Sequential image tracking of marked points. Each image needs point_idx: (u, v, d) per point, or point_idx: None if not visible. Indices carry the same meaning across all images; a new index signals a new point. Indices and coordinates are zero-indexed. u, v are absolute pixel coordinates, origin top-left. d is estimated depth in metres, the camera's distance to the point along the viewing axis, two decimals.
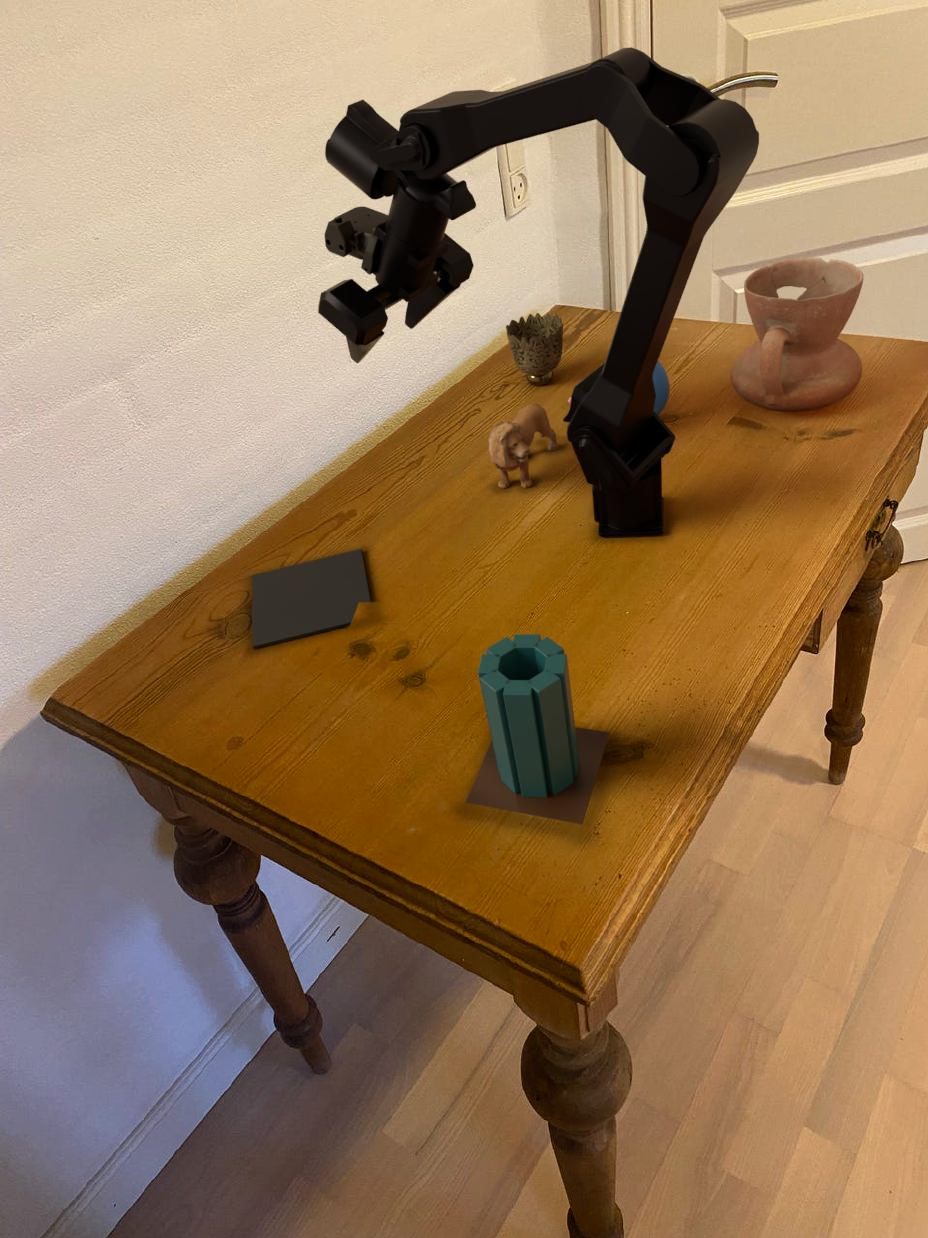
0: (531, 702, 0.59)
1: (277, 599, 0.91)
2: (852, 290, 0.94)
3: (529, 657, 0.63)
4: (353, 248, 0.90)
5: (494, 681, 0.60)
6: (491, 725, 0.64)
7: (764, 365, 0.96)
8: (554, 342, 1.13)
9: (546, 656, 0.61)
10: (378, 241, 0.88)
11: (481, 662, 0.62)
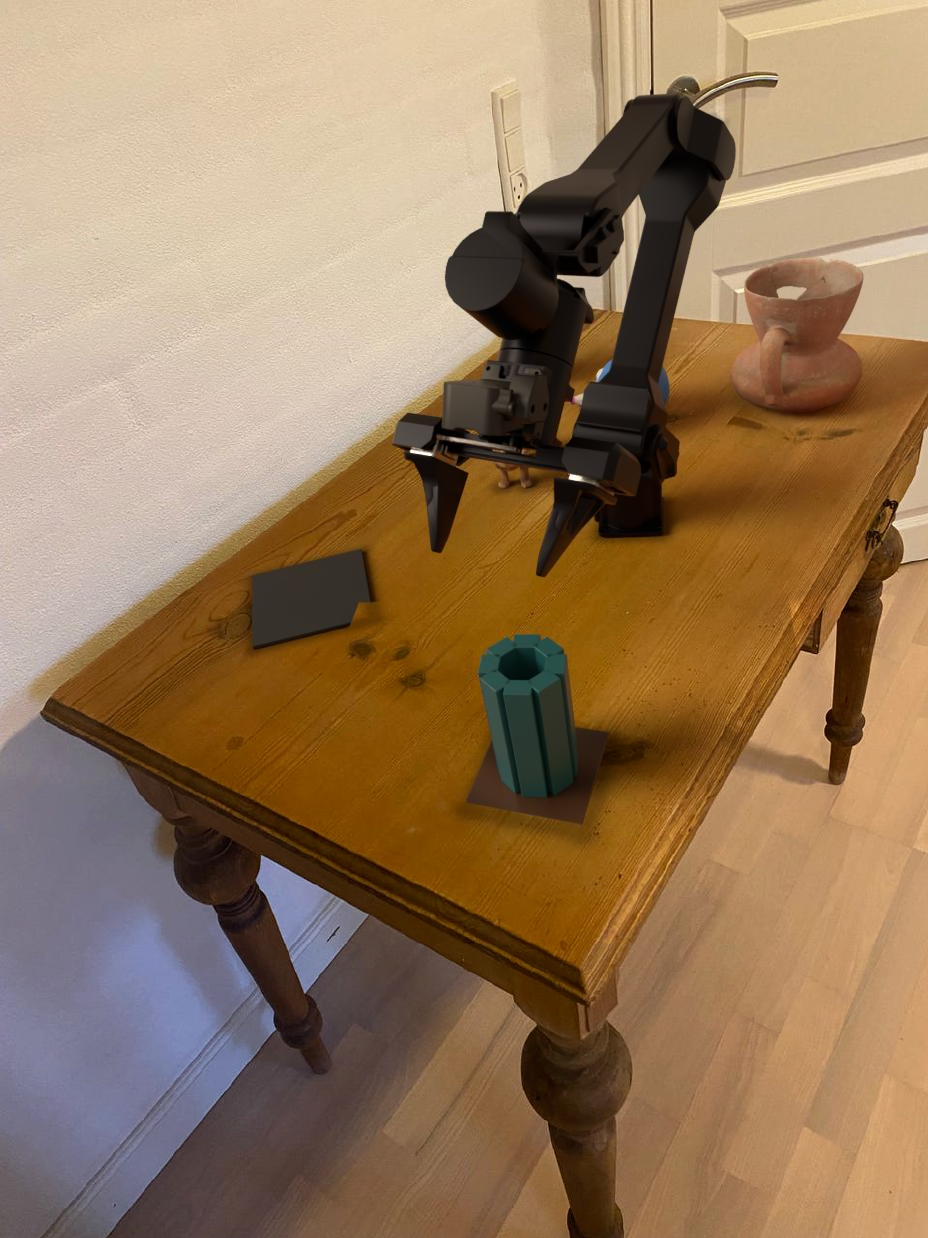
0: (531, 702, 0.59)
1: (277, 599, 0.91)
2: (852, 289, 0.94)
3: (529, 657, 0.63)
4: None
5: (494, 681, 0.60)
6: (491, 725, 0.64)
7: (764, 365, 0.96)
8: None
9: (546, 656, 0.61)
10: None
11: (481, 662, 0.62)
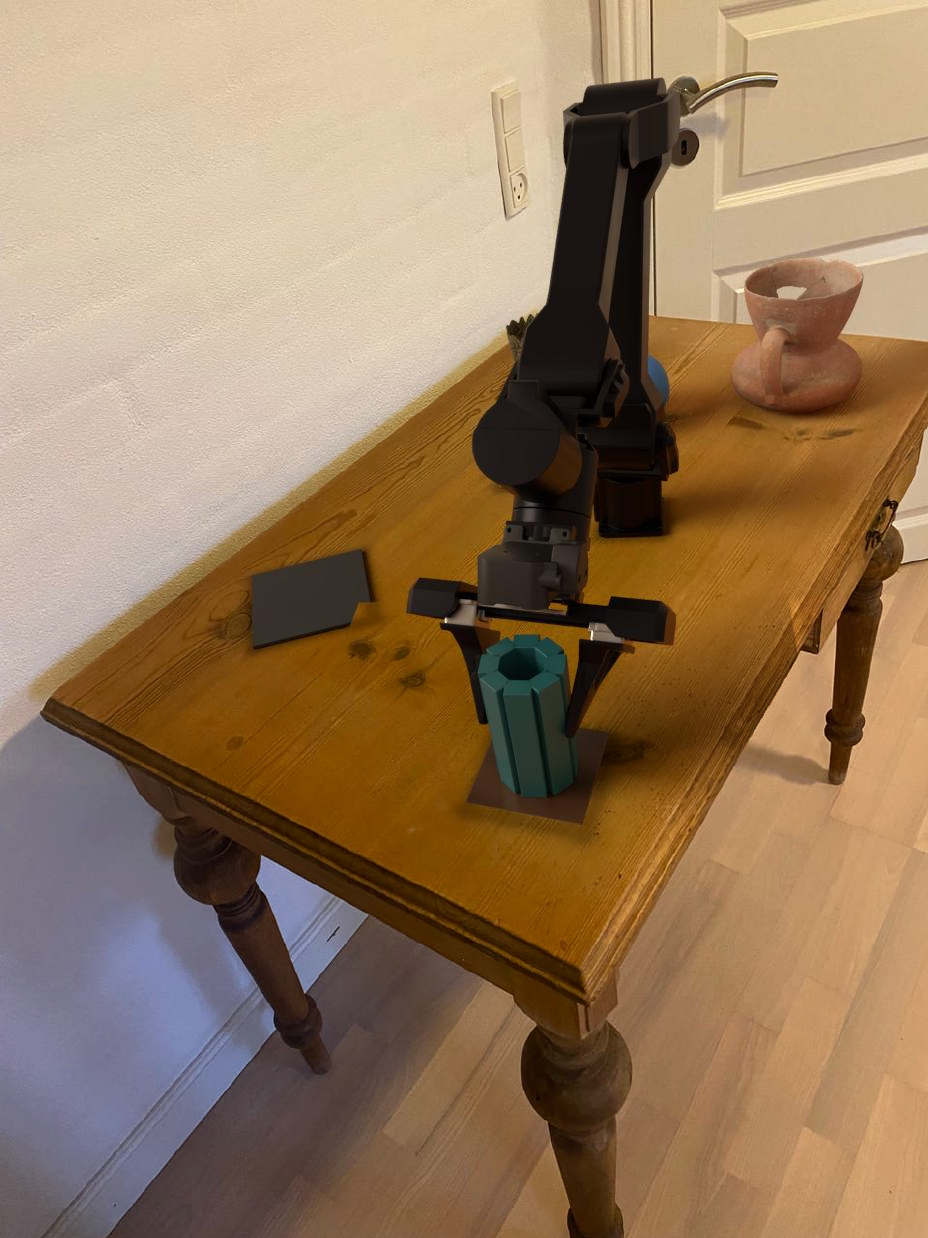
0: (531, 702, 0.59)
1: (277, 599, 0.91)
2: (852, 289, 0.94)
3: (529, 657, 0.63)
4: None
5: (494, 681, 0.60)
6: (491, 725, 0.64)
7: (764, 365, 0.96)
8: None
9: (546, 656, 0.61)
10: None
11: (481, 662, 0.62)
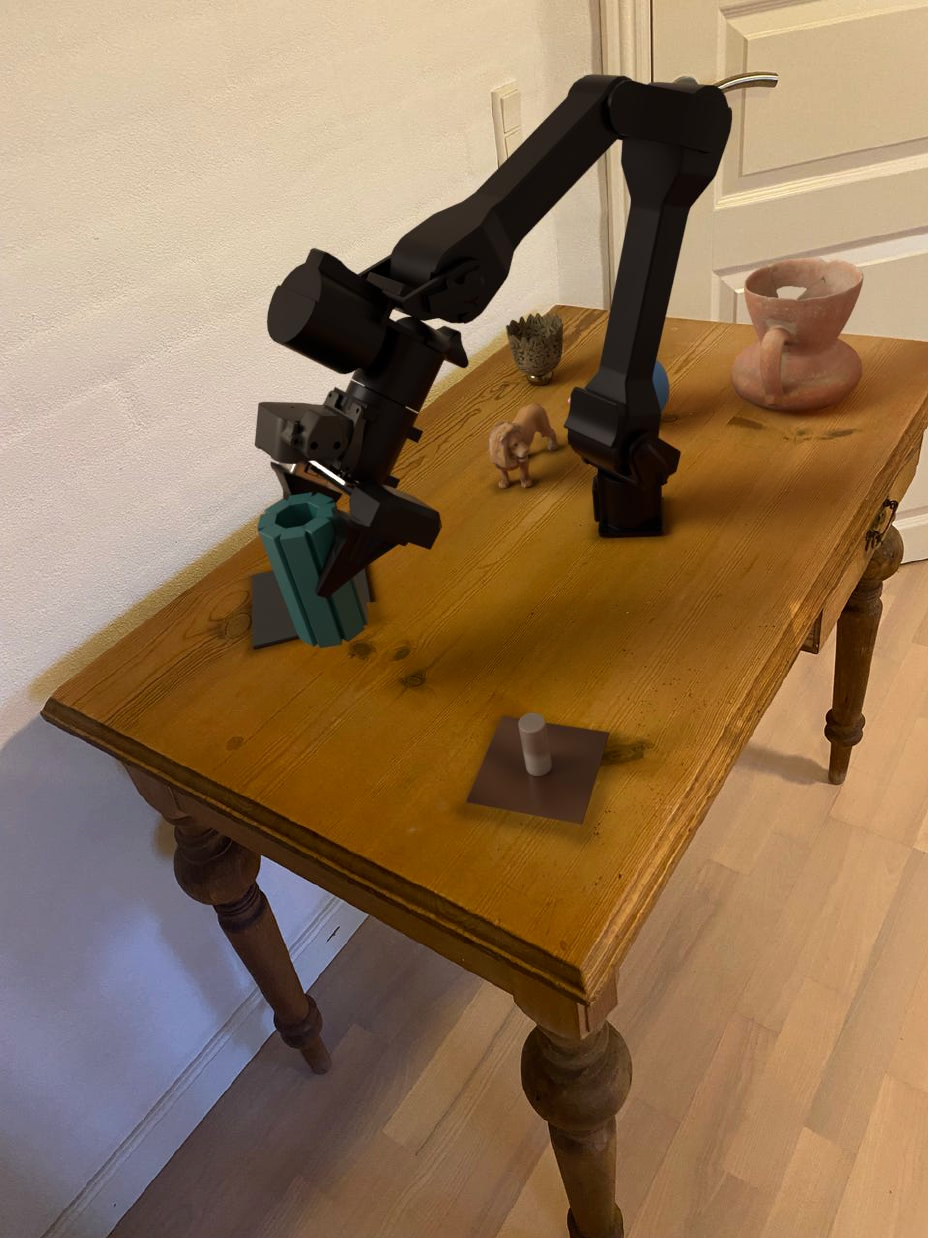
0: (276, 546, 0.66)
1: (277, 599, 0.91)
2: (852, 289, 0.94)
3: None
4: None
5: (265, 520, 0.68)
6: None
7: (764, 365, 0.96)
8: (554, 342, 1.13)
9: (316, 516, 0.67)
10: None
11: None
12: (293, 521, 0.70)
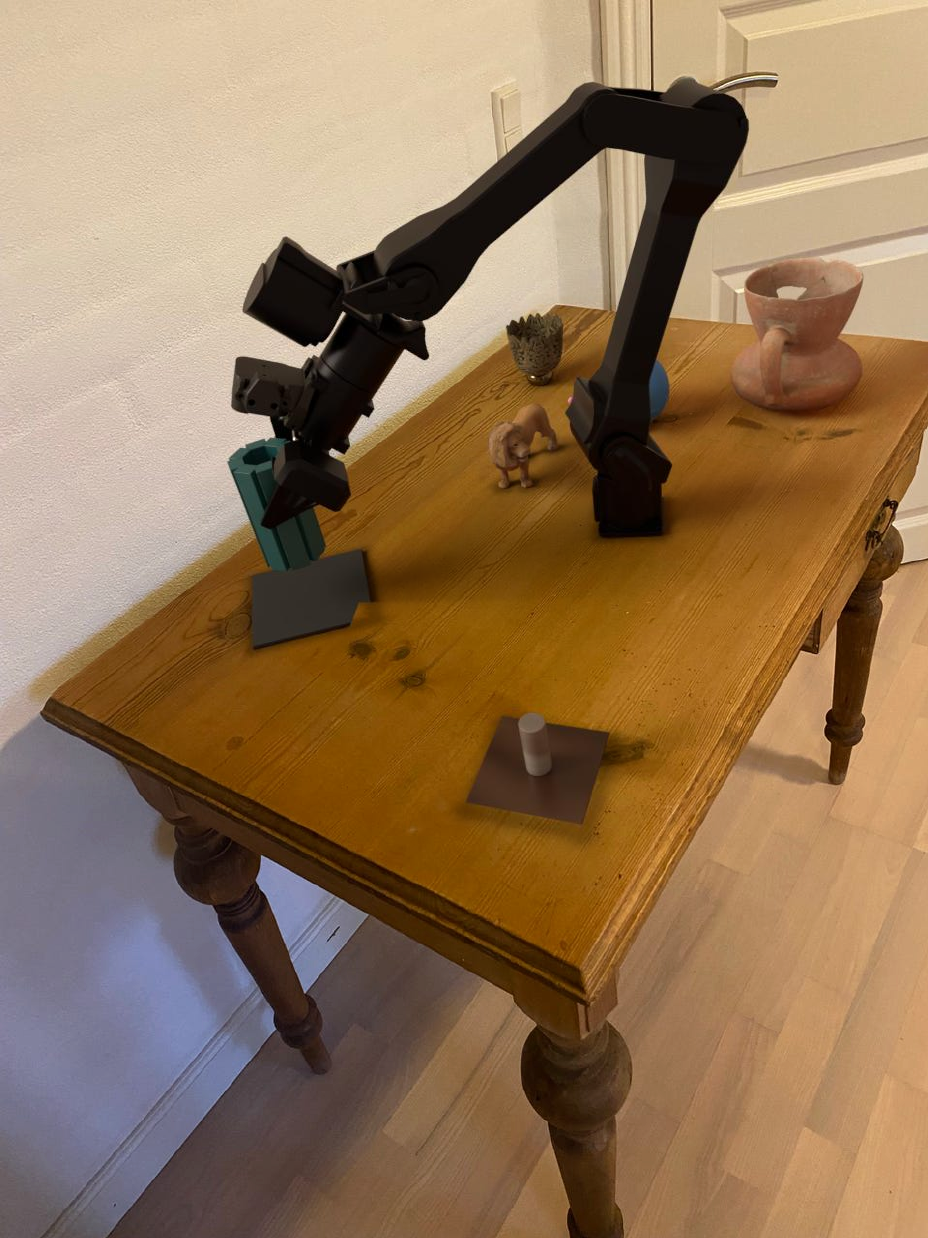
0: (233, 477, 0.80)
1: (277, 599, 0.91)
2: (852, 290, 0.94)
3: None
4: (283, 405, 0.74)
5: (238, 453, 0.81)
6: None
7: (764, 365, 0.96)
8: (554, 342, 1.13)
9: (271, 460, 0.79)
10: None
11: (255, 441, 0.83)
12: (266, 459, 0.83)
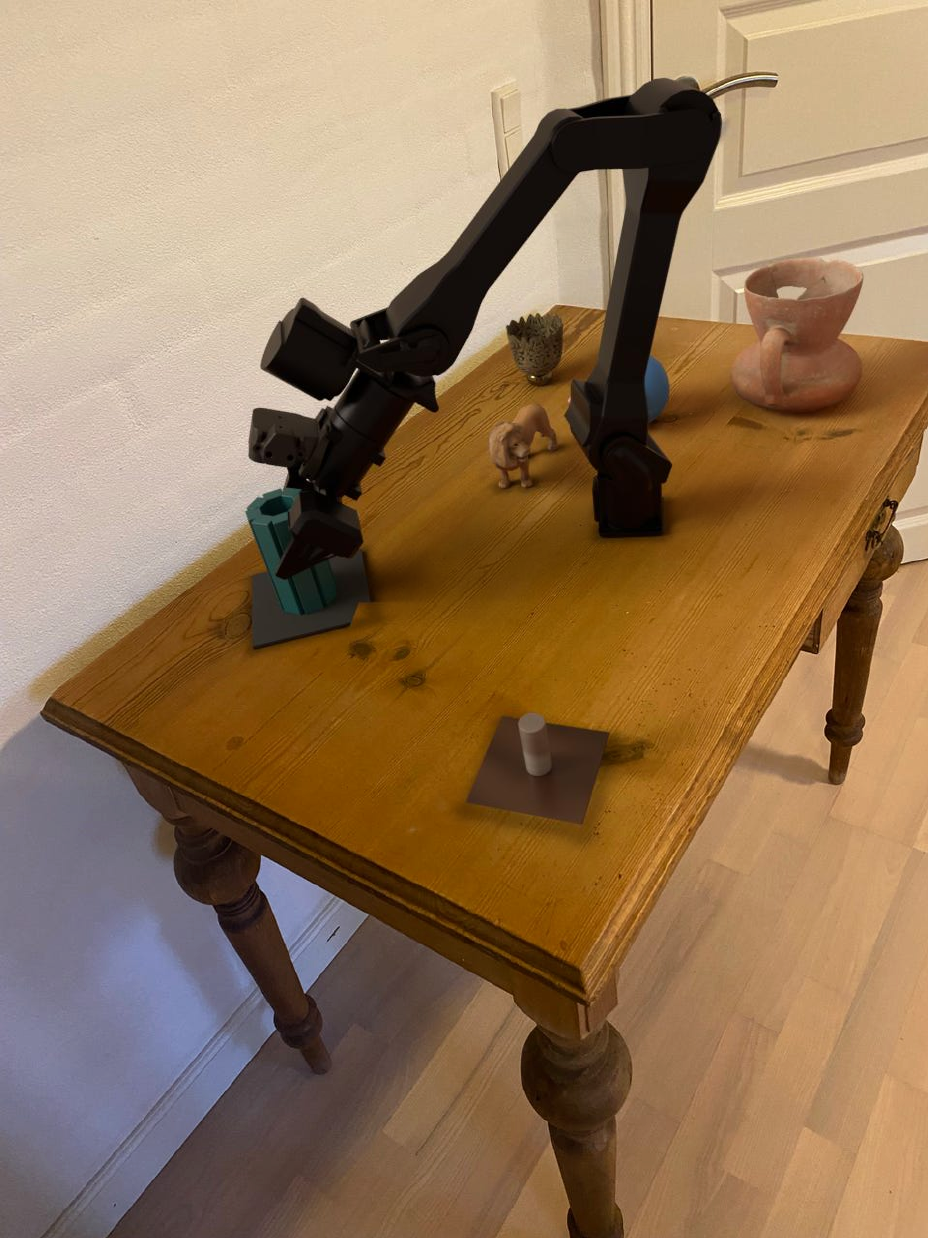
0: (250, 526, 0.83)
1: (277, 599, 0.91)
2: (852, 290, 0.94)
3: None
4: (299, 456, 0.77)
5: (255, 502, 0.85)
6: None
7: (764, 365, 0.96)
8: (554, 342, 1.13)
9: None
10: None
11: (272, 491, 0.86)
12: (282, 508, 0.86)
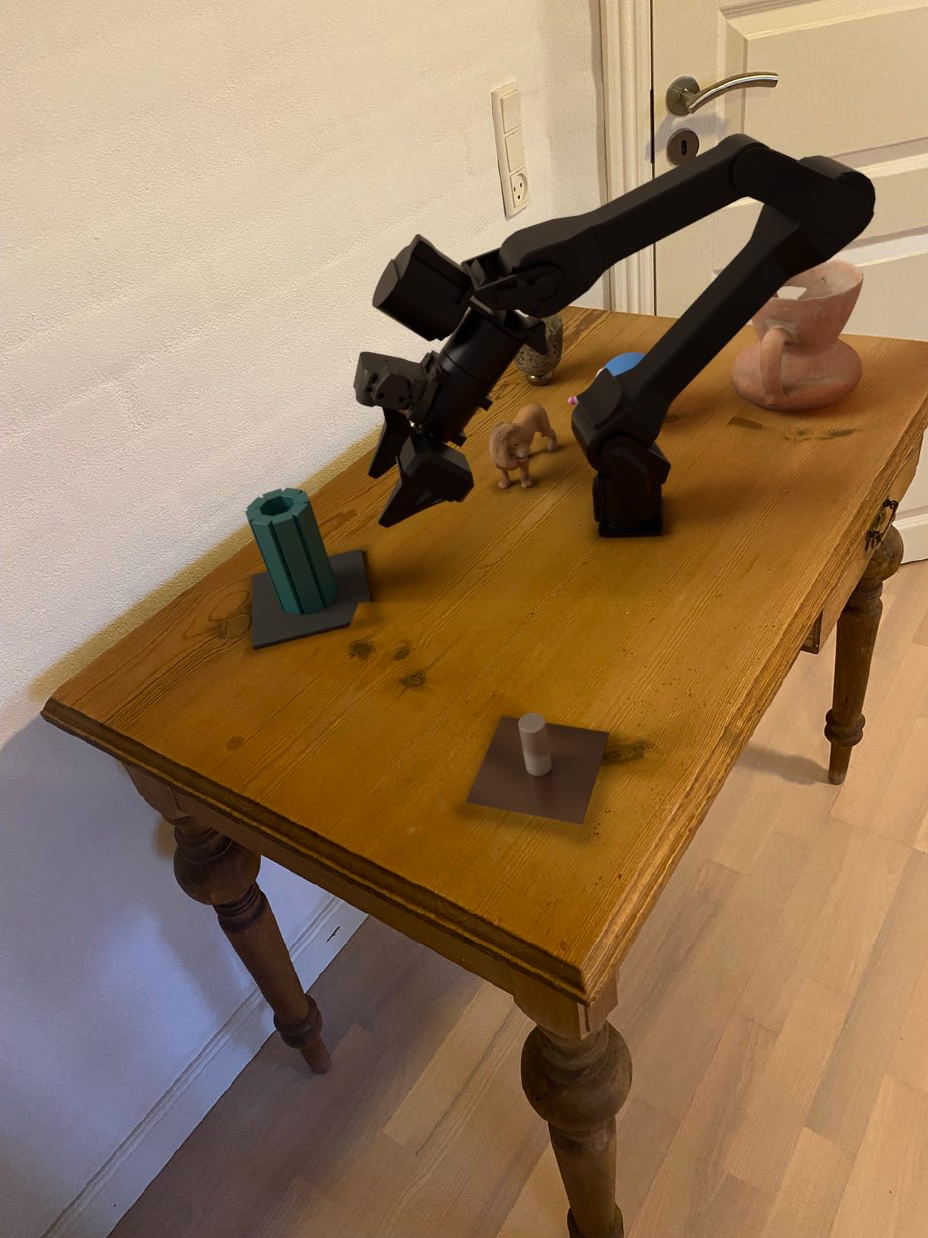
0: (250, 526, 0.83)
1: (277, 599, 0.91)
2: (852, 290, 0.94)
3: None
4: (409, 398, 0.76)
5: (255, 502, 0.85)
6: None
7: (764, 365, 0.96)
8: (554, 342, 1.13)
9: (287, 511, 0.83)
10: None
11: (272, 491, 0.86)
12: (282, 508, 0.86)
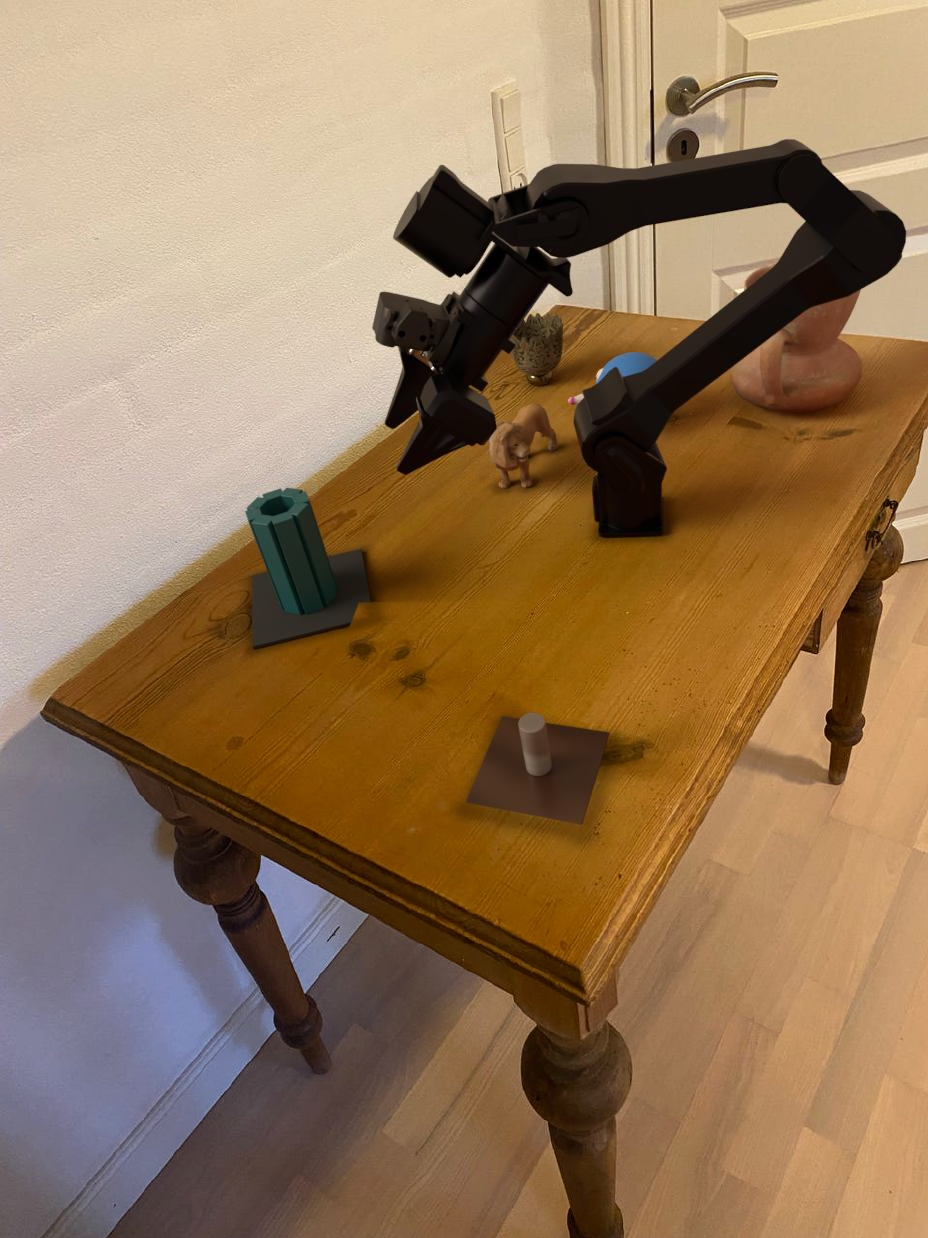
0: (250, 526, 0.83)
1: (277, 599, 0.91)
2: None
3: None
4: (430, 338, 0.75)
5: (255, 502, 0.85)
6: None
7: (764, 365, 0.96)
8: (554, 342, 1.13)
9: (287, 511, 0.83)
10: (458, 327, 0.76)
11: (272, 491, 0.86)
12: (282, 508, 0.86)
